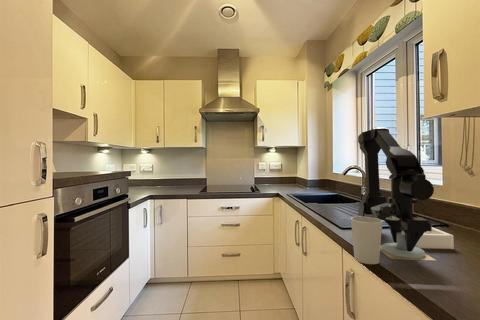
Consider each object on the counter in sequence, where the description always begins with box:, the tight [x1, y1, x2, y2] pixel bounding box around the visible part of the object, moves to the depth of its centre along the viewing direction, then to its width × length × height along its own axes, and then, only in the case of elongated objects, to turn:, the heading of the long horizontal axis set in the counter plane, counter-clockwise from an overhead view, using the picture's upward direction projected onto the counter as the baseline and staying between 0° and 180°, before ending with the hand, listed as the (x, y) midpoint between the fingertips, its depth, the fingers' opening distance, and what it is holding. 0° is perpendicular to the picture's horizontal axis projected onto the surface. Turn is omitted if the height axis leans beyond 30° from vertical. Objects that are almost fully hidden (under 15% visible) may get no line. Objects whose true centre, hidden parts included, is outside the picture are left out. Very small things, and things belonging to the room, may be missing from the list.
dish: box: [402, 226, 455, 250], centre depth 85 cm, size 10×10×5 cm
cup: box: [350, 215, 384, 265], centre depth 72 cm, size 8×8×12 cm
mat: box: [380, 244, 438, 262], centre depth 78 cm, size 12×12×1 cm
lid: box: [381, 232, 426, 259], centre depth 78 cm, size 11×11×6 cm
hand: (402, 246), depth 78 cm, fingers open, 7 cm apart
